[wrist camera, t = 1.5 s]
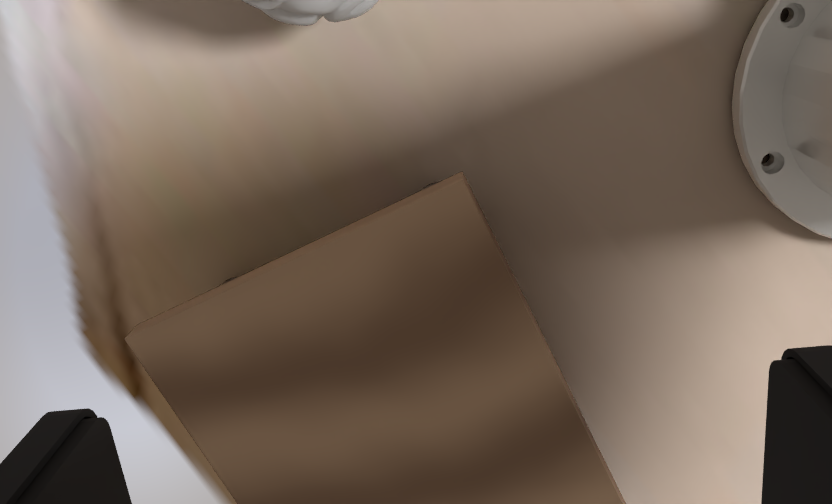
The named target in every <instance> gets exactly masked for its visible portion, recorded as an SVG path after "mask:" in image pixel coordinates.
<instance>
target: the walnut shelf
mask: <svg viewBox="0 0 832 504" xmlns="http://www.w3.org/2000/svg"><path fill="white" fill-rule="evenodd" d="M125 341H126V342H127V344H128V345H129V347H130V348H131V349H132V351H133V352H134V354H135V355H136V357H137V358H138V360H139V361H140V363H141V364H142V365H143V367H144V368H145V370H146V371H147V373H148V374H149V376H150V377H151V379H152V380H153V381H154V383H155V384H156V386H157V387H158V389H159V390H160V392H161V393H162V395H163V396H164V397H165V399H166V400H167V402H168V403H169V405H170V406H171V408H172V409H173V411H174V412H175V413H176V415H177V416H178V418H179V419H180V421H181V422H182V424H183V425H184V427H185V428H186V429H187V431H188V432H189V434H190V435H191V437H192V438H193V440H194V441H195V443H196V444H197V445H198V447H199V448H200V450H201V451H202V453H203V454H204V456H205V457H206V459H207V460H208V461H209V463H210V464H211V466H212V467H213V469H214V470H215V472H216V473H217V475H218V476H219V477H220V479H221V480H222V482H223V483H224V485H225V486H226V488H227V489H228V491H229V492H230V493H231V495H232V496H233V498H234V499H235V501H236V502H237V504H626V503H625V501H624V499H623V497H622V495H621V493H620V491H619V489H618V487H617V485H616V483H615V481H614V479H613V477H612V475H611V473H610V471H609V469H608V466H607V464H606V462H605V460H604V458H603V456H602V454H601V452H600V450H599V448H598V446H597V444H596V442H595V440H594V438H593V436H592V434H591V432H590V430H589V428H588V426H587V424H586V422H585V420H584V418H583V416H582V414H581V412H580V410H579V408H578V406H577V403H576V401H575V399H574V397H573V395H572V393H571V391H570V389H569V387H568V385H567V383H566V381H565V379H564V377H563V375H562V373H561V371H560V369H559V367H558V365H557V363H556V361H555V359H554V357H553V355H552V353H551V351H550V349H549V347H548V345H547V343H546V340H545V338H544V336H543V334H542V332H541V330H540V328H539V326H538V324H537V322H536V320H535V318H534V316H533V314H532V312H531V310H530V308H529V306H528V304H527V302H526V300H525V298H524V296H523V294H522V292H521V290H520V288H519V286H518V284H517V282H516V280H515V277H514V275H513V273H512V271H511V269H510V267H509V265H508V263H507V261H506V259H505V257H504V255H503V253H502V251H501V249H500V247H499V245H498V243H497V241H496V239H495V237H494V235H493V233H492V231H491V229H490V227H489V225H488V223H487V221H486V219H485V217H484V214H483V212H482V210H481V208H480V206H479V204H478V202H477V200H476V198H475V196H474V194H473V192H472V190H471V188H470V186H469V184H468V182H467V180H466V178H465V176H464V174H463V172H460V173H458V174H455V175H453V176H451V177H449V178H447V179H445V180H443V181H441V182H437V183H432V184H429V185H428V186H426V187H425V188H423V189H422V190H421V191H419V192H417V193H415V194H413V195H411V196H409V197H407V198H405V199H403V200H400V201H398V202H396V203H394V204H392V205H390V206H388V207H386V208H383V209H381V210H379V211H377V212H375V213H373V214H371V215H369V216H367V217H364V218H362V219H360V220H358V221H356V222H354V223H352V224H350V225H347V226H345V227H343V228H341V229H339V230H337V231H335V232H333V233H331V234H328V235H326V236H324V237H322V238H320V239H318V240H316V241H314V242H312V243H309V244H307V245H305V246H303V247H301V248H299V249H297V250H295V251H292V252H290V253H288V254H286V255H284V256H282V257H280V258H278V259H276V260H273V261H271V262H269V263H267V264H265V265H263V266H261V267H259V268H257V269H254V270H252V271H250V272H248V273H246V274H244V275H242V276H240V277H236V278H231V279H229V280H227V281H226V282H224V283H223V284H222V285H221V286H218V287H216V288H214V289H212V290H210V291H208V292H206V293H204V294H201V295H199V296H197V297H195V298H193V299H191V300H189V301H187V302H185V303H182V304H180V305H178V306H176V307H174V308H172V309H170V310H168V311H166V312H163V313H161V314H159V315H157V316H155V317H153V318H151V319H149V320H146V321H144V322H142V323H140V324H138V325H137V326H136V327H135V328H134V329H133V330H132V331H131V332H130V333H129V334H128V335H127V336H126V337H125Z"/></svg>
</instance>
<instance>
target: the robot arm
mask: <svg viewBox="0 0 832 504" xmlns="http://www.w3.org/2000/svg"><path fill="white" fill-rule="evenodd" d="M784 8H787V9H788V10H789V16H788V18H787V19H786V20H785V21H781V20H780V15H781V12H782V10H783V9H784ZM732 114H733V126H734V135H735V139H736V142H737V145H738V149H739V152H740V155H741V159H742V162H743V164H744V165H745V167H746V169H747V171H748V173H749V174H750V176H751V178H752V180H753V182H754V183H755V185H756V186H757V187H758V189H759V190H760V191H761V192H762V193H763V194H764V195H765V196H766V198H767V199H768V200H769V201H770V202H771V203H772V204H773V205H774V206H775V207H776V208H778V209H779V210H780V211H782V212H783V213H784V214H785V215H787V216H788V217H789V218H790V219H792V220H793V221H795V222H797V223H798V224H800V225H802V226H804V227H806V228H807V229H809V230H811V231H813V232H814V233H816V234H819V235H822V236H825V237H828V238H831V239H832V0H768V2H767V3H766V4H765V6H764V7H763V9H762V10H761V11H760V13H759V15H758V17H757V19H756V21H755V23H754V25H753V27H752V29H751V31H750V33H749V35H748V37H747V39H746V41H745V43H744V46H743V50H742V53H741V56H740V60H739V63H738V66H737V69H736V73H735V80H734V89H733V98H732ZM768 153H769V154H770V159H769V161H767V162H766V163H764V164H761V162H762V159H763V157H764V156H766V155H767V154H768ZM0 504H132V503H131V500H130V496H129V493H128V489H127V486H126V482H125V479H124V475H123V472H122V468H121V464H120V461H119V457H118V454H117V450H116V446H115V443H114V440H113V436H112V432H111V429H110V426H109V424H108V422H107V420H106V419H104V418H97V416H96V414H95V413H94V412H93V411H92V410H90V409H77V410H66V411H54V412H48V413H46V414H45V415H44V416H43V417H42V418H41V419H40V420H39V421H38V422H37V423H36V424H35V426H34V427H33V428H32V429H31V430H30V431H29V433H28V434H27V435H26V436H25V437H24V438H23V439H22V440H21V441H20V442H19V444H18V445H17V446H16V447H15V448H14V449H13V450H12V452H11V453H10V454H9V455H8V456H7V457H6V458H5V459H4V460H3V461H2V463H1V464H0ZM762 504H832V346H816V347H804V348H792V349H787V350H786V351H784V353H783V356H782V359H781V360H776V361H773V362H772V363H771V365H770V369H769V382H768V399H767V417H766V434H765V452H764V469H763V487H762Z"/></svg>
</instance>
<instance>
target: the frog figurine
mask: <svg viewBox="0 0 832 504" xmlns="http://www.w3.org/2000/svg"><path fill="white" fill-rule="evenodd" d="M242 1H244V2H246V3H248V4H249V5H251V6H253V7H256V8H258V9H260V10H262V11H263V12H264V13H265V14H267V15H268V16H270V17H271V18H273V19H274V20H277V21H280V22H283V23H286V24H291V25H303V26H308V25H313V24H314V23H316V22H317V21H318V20H319V19H320V18H321V17H322V16H324V17H325V19H326V20H328V21H330V22H339V21H344V20H349V19H352V18H356V17H358V16H360V15H362V14H364V13H366V12H367V11H368V10H370V9H371V8H372V7H373V6H374V5H375V4H376V3H377V2H378V1H379V0H242Z"/></svg>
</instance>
